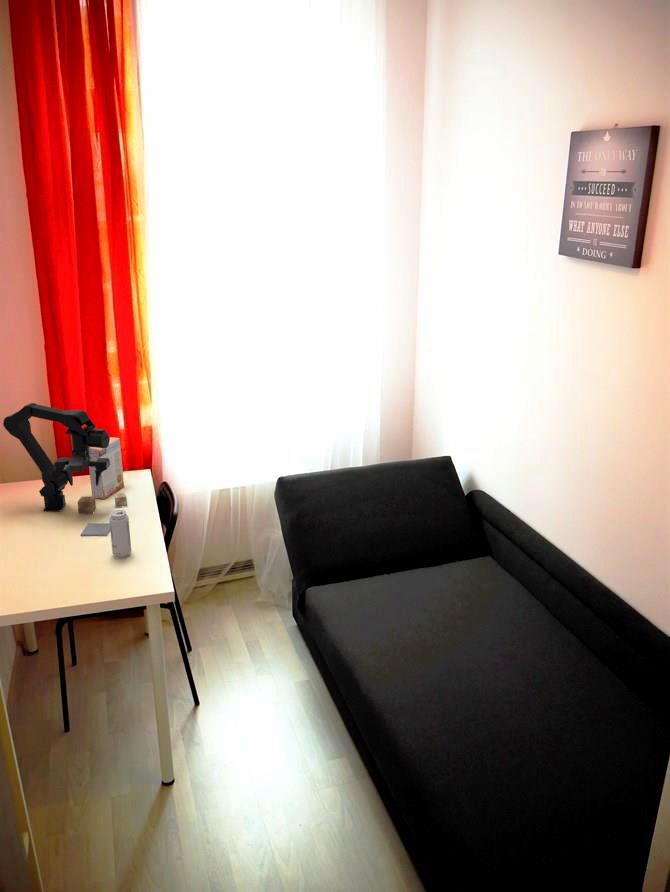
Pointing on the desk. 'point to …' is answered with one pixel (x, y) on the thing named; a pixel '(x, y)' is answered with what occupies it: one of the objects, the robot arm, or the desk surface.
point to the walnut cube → (86, 505)
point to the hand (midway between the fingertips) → (84, 485)
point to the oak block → (120, 499)
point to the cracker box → (110, 477)
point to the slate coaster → (96, 529)
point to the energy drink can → (120, 534)
